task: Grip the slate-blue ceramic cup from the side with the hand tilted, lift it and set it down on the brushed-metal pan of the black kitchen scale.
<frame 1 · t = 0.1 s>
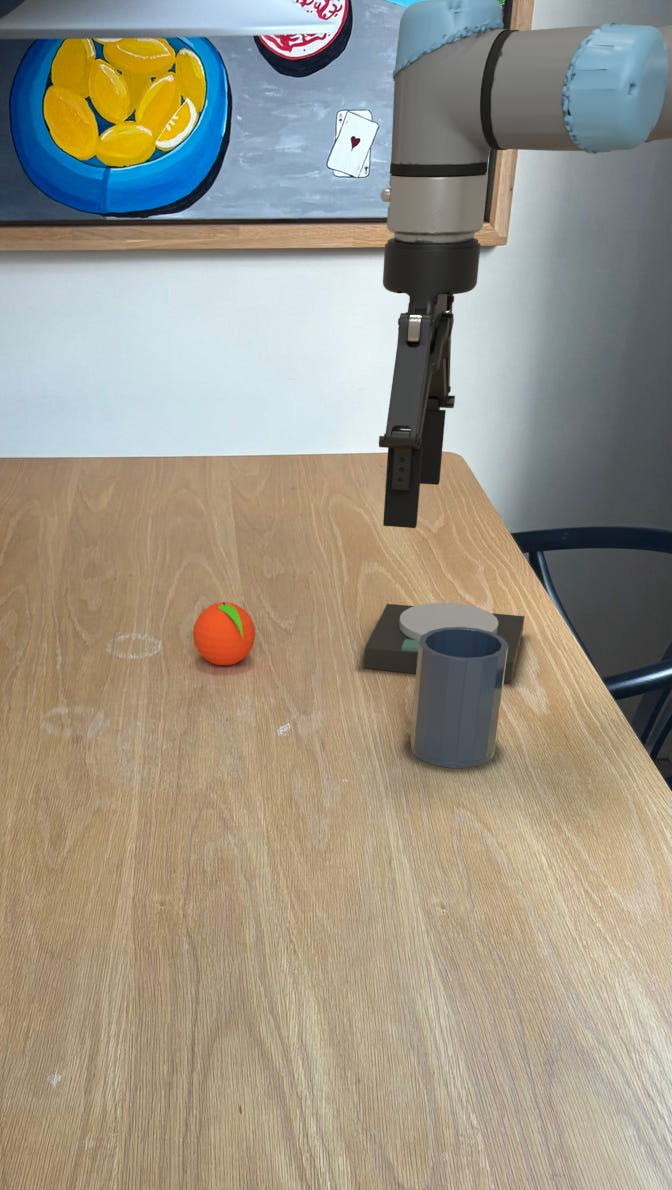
hand: (412, 503, 108), 23 cm above the table, tool pointing down, fingers open, 13 cm apart
cup: (452, 749, 119), on the table
clementine: (226, 666, 138), on the table
scale: (444, 651, 139), on the table
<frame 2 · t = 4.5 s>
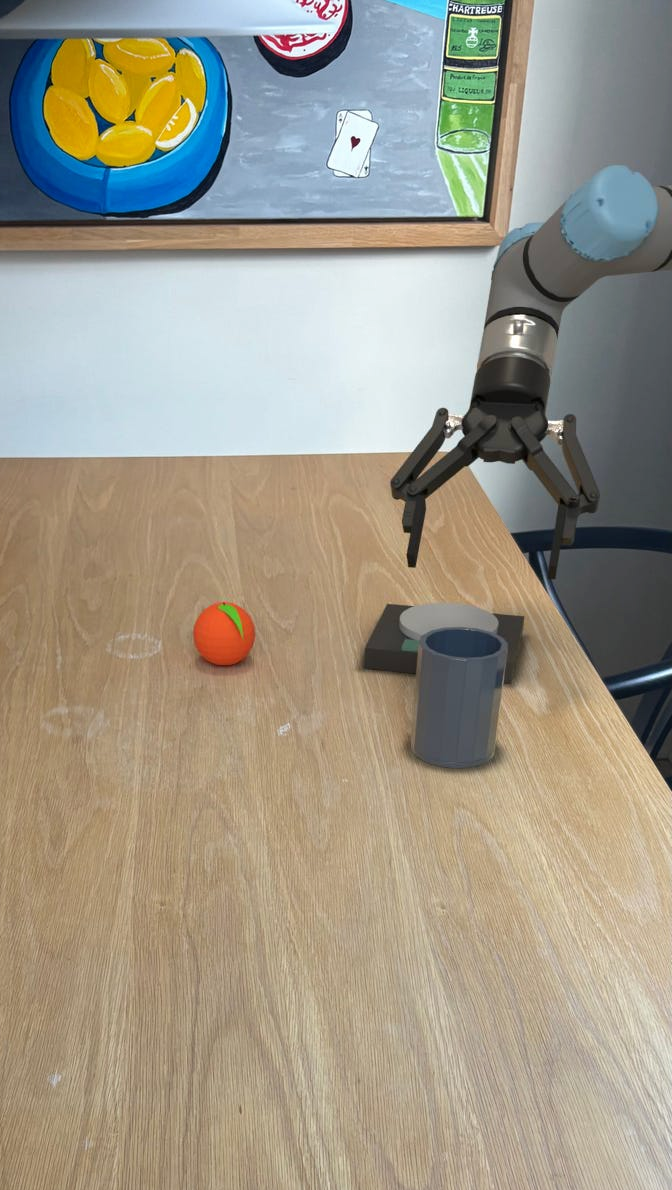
hand: (480, 567, 120), 15 cm above the table, tool tilted 45°, fingers open, 13 cm apart
nothing on the table moved.
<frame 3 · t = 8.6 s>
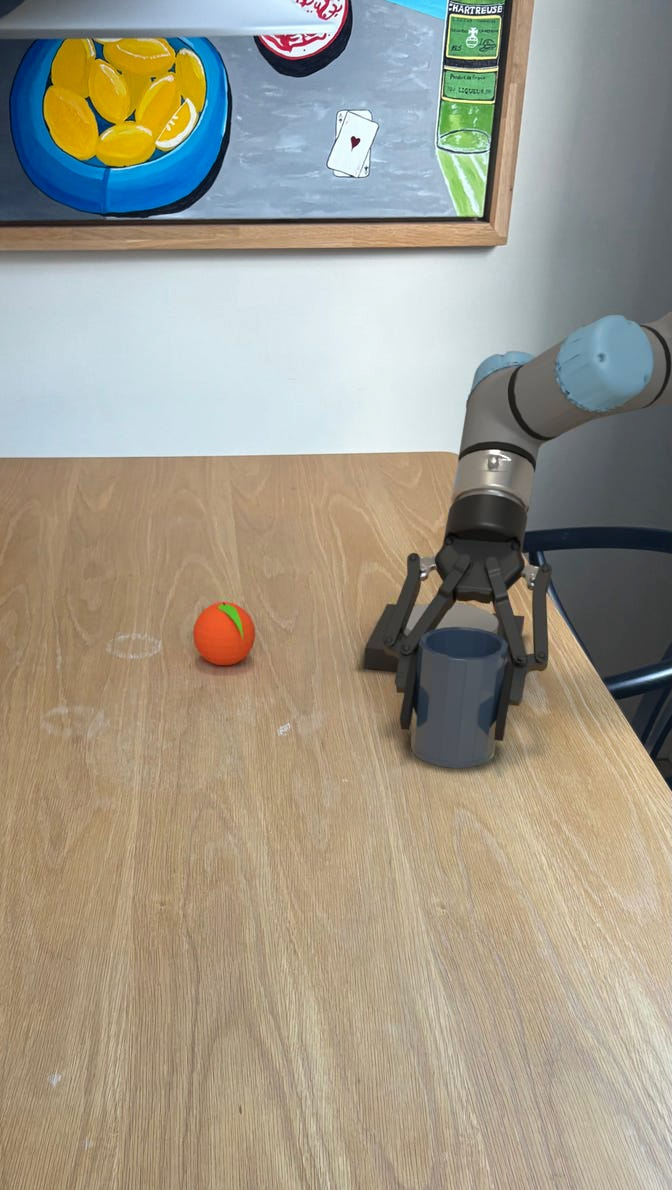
hand: (451, 730, 114), 4 cm above the table, tool tilted 45°, fingers closed on cup, 8 cm apart
cup: (452, 748, 119), on the table, touching gripper
everything else where it was.
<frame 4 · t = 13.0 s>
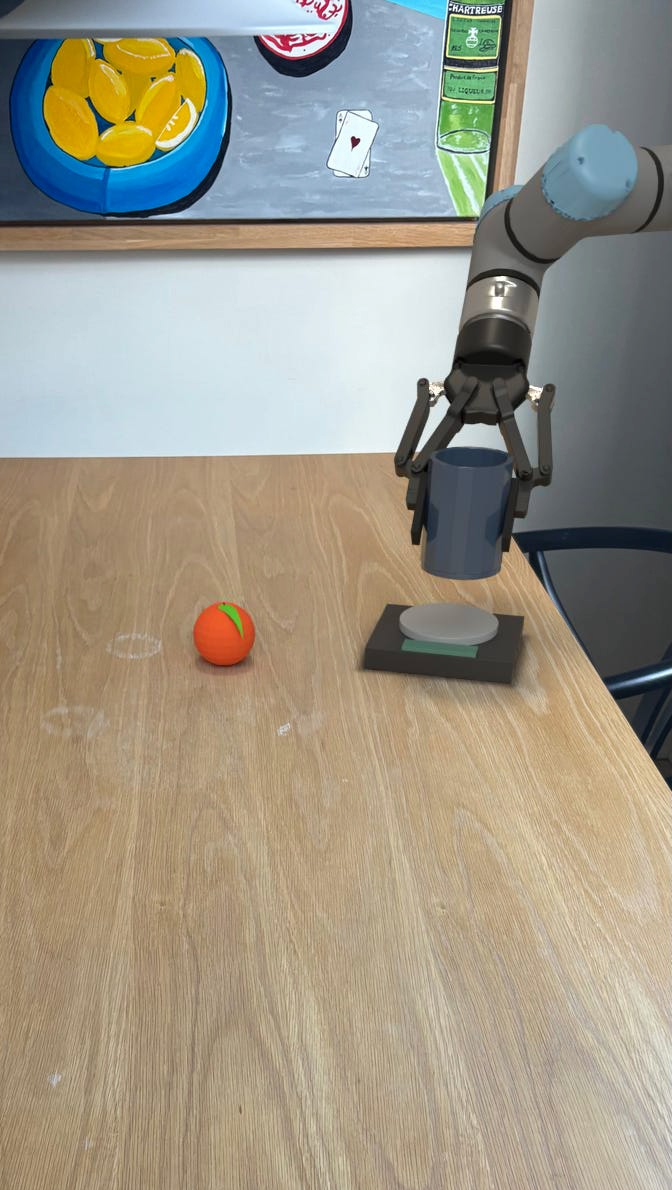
hand: (459, 541, 120), 17 cm above the table, tool tilted 45°, fingers closed on cup, 8 cm apart
cup: (460, 566, 124), point 13 cm above the table, touching gripper
everything else where it was.
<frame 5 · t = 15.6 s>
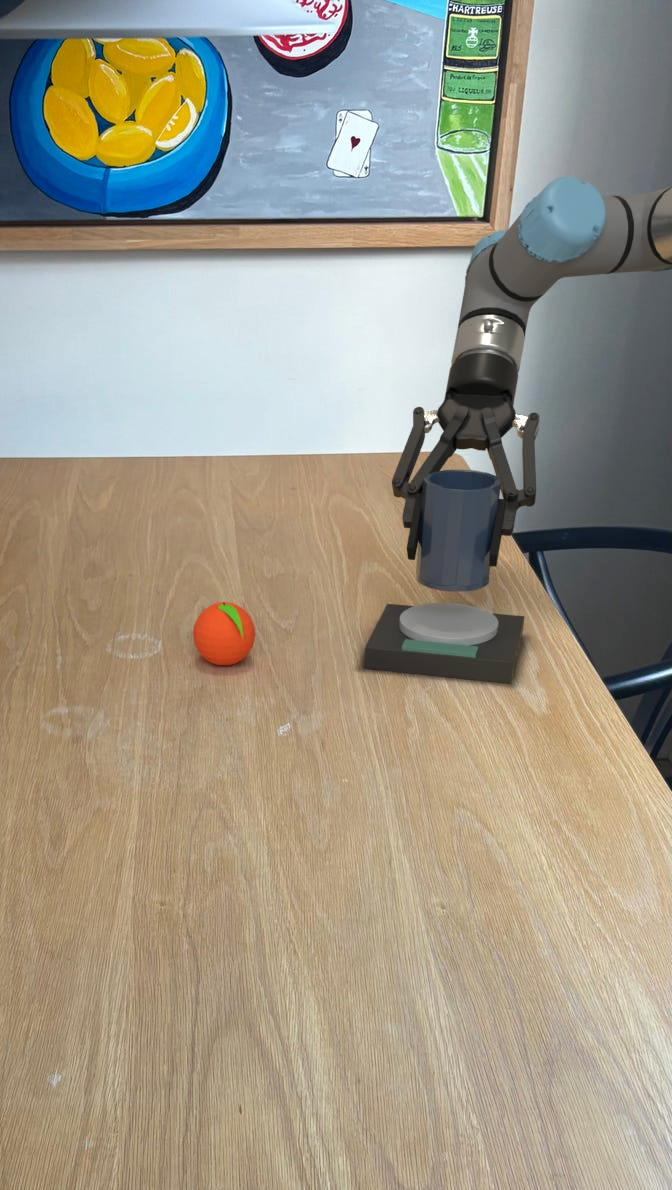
hand: (451, 557, 131), 12 cm above the table, tool tilted 45°, fingers closed on cup, 8 cm apart
cup: (452, 579, 136), point 8 cm above the table, touching gripper
everything else where it was.
when the fingers open (7 cm above the table, at t = 17.4 s): cup stays where it is, resting on scale.
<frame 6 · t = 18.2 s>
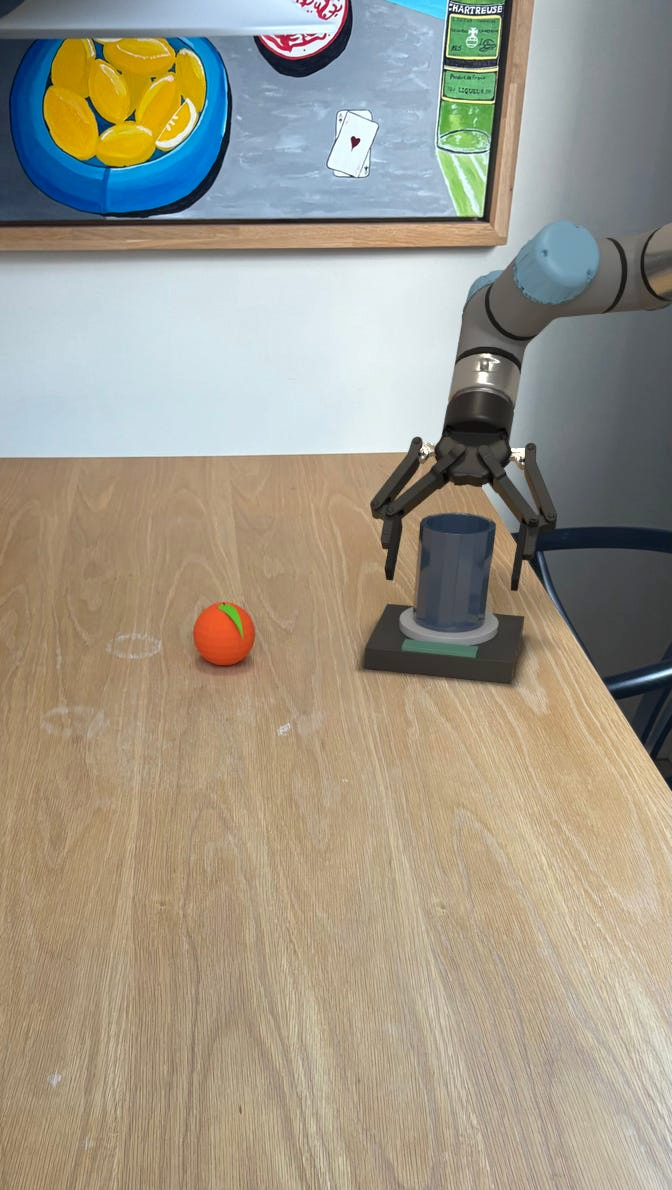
hand: (450, 580, 134), 9 cm above the table, tool tilted 45°, fingers open, 13 cm apart
cup: (448, 619, 138), point 3 cm above the table, touching scale
everything else where it was.
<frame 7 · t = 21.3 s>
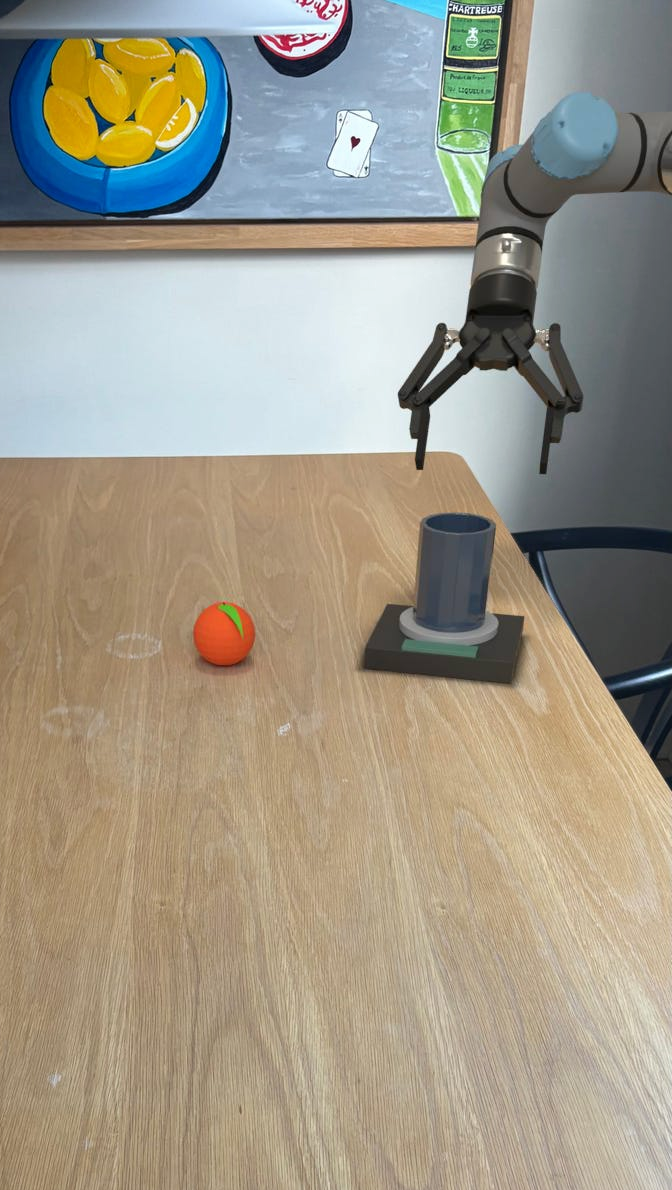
hand: (480, 467, 137), 19 cm above the table, tool tilted 40°, fingers open, 13 cm apart
nothing on the table moved.
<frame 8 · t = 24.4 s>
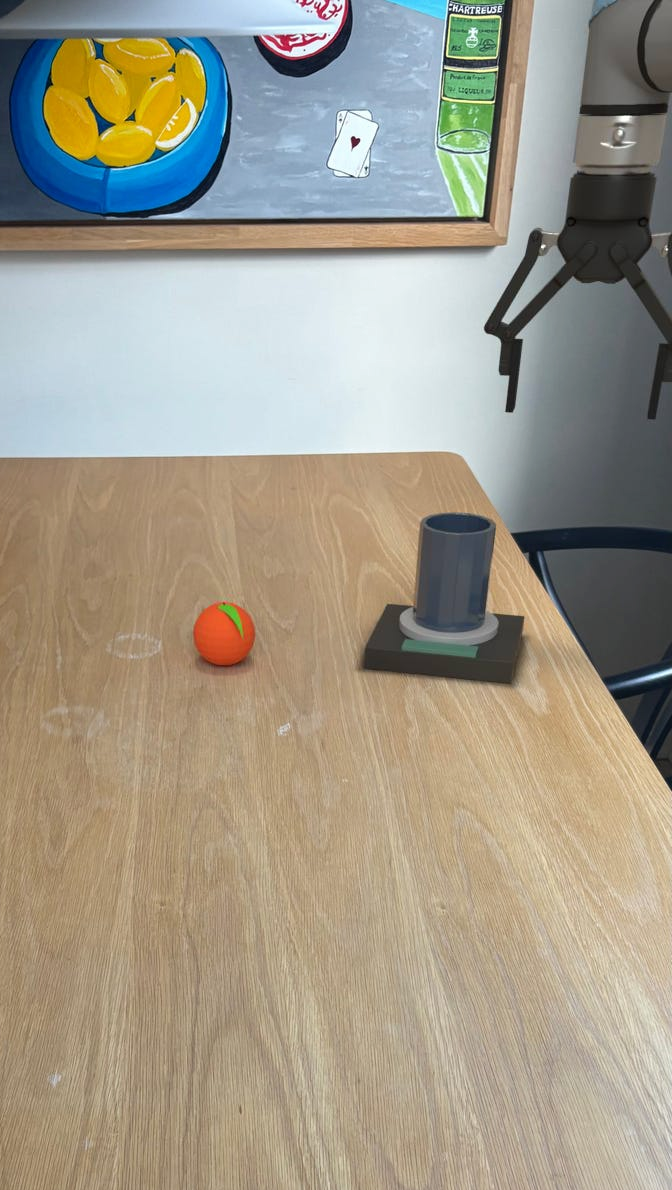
hand: (579, 413, 122), 27 cm above the table, tool pointing down, fingers open, 13 cm apart
nothing on the table moved.
at the end: cup inside the target area on the scale (0.1 cm from its centre), point 3.5 cm above the scale's base; cup tilted 0° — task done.
